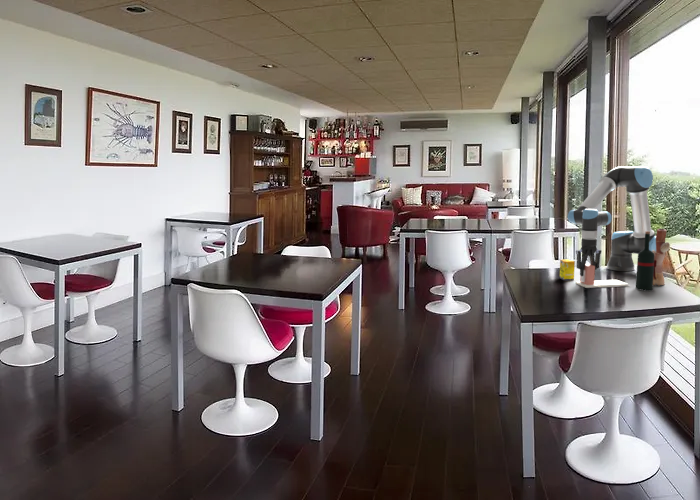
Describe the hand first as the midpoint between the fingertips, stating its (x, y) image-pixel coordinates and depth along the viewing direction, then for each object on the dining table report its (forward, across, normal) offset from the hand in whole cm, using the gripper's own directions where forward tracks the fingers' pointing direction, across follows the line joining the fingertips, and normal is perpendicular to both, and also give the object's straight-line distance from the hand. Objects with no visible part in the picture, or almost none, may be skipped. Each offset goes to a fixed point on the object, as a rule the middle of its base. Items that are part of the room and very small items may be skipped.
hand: (587, 281), depth 309 cm
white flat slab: (+2, -12, 0) cm, 12 cm away
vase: (+2, -37, +5) cm, 38 cm away
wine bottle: (+2, -25, +13) cm, 29 cm away
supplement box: (+2, +3, -17) cm, 17 cm away
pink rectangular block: (+2, 0, 0) cm, 2 cm away
